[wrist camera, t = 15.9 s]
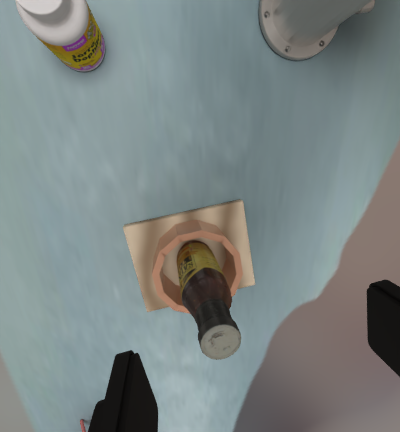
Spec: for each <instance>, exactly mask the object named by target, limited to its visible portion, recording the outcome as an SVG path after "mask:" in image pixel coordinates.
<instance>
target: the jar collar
mask: <svg viewBox="0 0 400 432" xmlns="http://www.w3.org/2000/svg"><path fill="white" fill-rule="evenodd" d="M200 237H203V238H207V239H210V240H214V241H217V242H221V243H222V244H223V245H224V246H225V252H226V261H225V264H224V266H223V269H222V272H223V274H224V276H225V278H226V281H227V284H228V286H229V288H230V291H231V296H234V295H235V293H236V290H237V288H238V285H239V283H240V280H241V278H242V275H243V271H242V265H241V258H240V253H239V252H238V250H237V249H236V248H235V247H234V245H233V244H232V243H231V242H230V240H229V239H228V238H227V237H226V236H225V235H224V234H223V232H222V231H221V230H220V229H219V228H218V227H217V226H216V225H213V224H210V223H206V222H203V221H200V220H192V221H188V222H183V223H179V224H175V225H174V226H173V227H172V228H171V229H170V230H169V231H167V232H166V233H165V234H164V235H163V236H162V237H161V238H160V239H159V242H158V245H157V248H156V251H155V254H154V257H153V268H152V277H153V280H154V284H155V288H156V291H157V295H158V296H159V297H160V298H161V299H162V300H163V301H164V302H165V303H166V304H167V305H169V306H170V307H171V308H172V309H173V310H175V311H180V312H185V313H190V312H189V311H188V310H187V309H186V308H185V307H184V305H183V303H182V299H181V292H180V286H179V285H175V284H174V283H173V282H172V281H171V280H170V279H169V278H168V277H167V276H166V275H165V274H164V273H163V269H162V265H163V262H164V259H165V256H166V255H167V254H168V253H169V252H170V251H171V250H173V249H174V248H175V247H176V246H177V245H178V244H179V243H180V242H183V241H187V240H191V239H196V238H200Z"/></svg>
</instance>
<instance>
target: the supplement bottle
mask: <svg viewBox="0 0 400 432" xmlns="http://www.w3.org/2000/svg"><path fill="white" fill-rule="evenodd" d="M16 5H17V9H18V12H19V14H20V16H21V18H22V20H23V22H24V23H25V25H26V26H27V27H28V29H29V30H30V31H31V32H32V33H33V34H34V35H35V36H36V37H37V38H38V39H39V40H40V41H41V42H42V43H43V44H44V45H46V46H47V47H48V48H49V49H50V50H51V51H52V52H53V53H54V54H55V55H56V56H57V57H58V58H59V59H60V60H61V61H62V62H63V63H64V64H66V65H67V66H68V67H70V68H72V69H74V70H77V71H82V72H84V71H91V70H93V69H95V68H96V67H98V66H99V65H100V63H101V62H102V60H103V58H104V54H105V43H104V39H103V36H102V34H101V31H100V29H99V27H98V25H97V23H96V21H95V19H94V17H93V15H92V13H91V10H90V8H89V6H88V4H87V2H86V0H16Z"/></svg>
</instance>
